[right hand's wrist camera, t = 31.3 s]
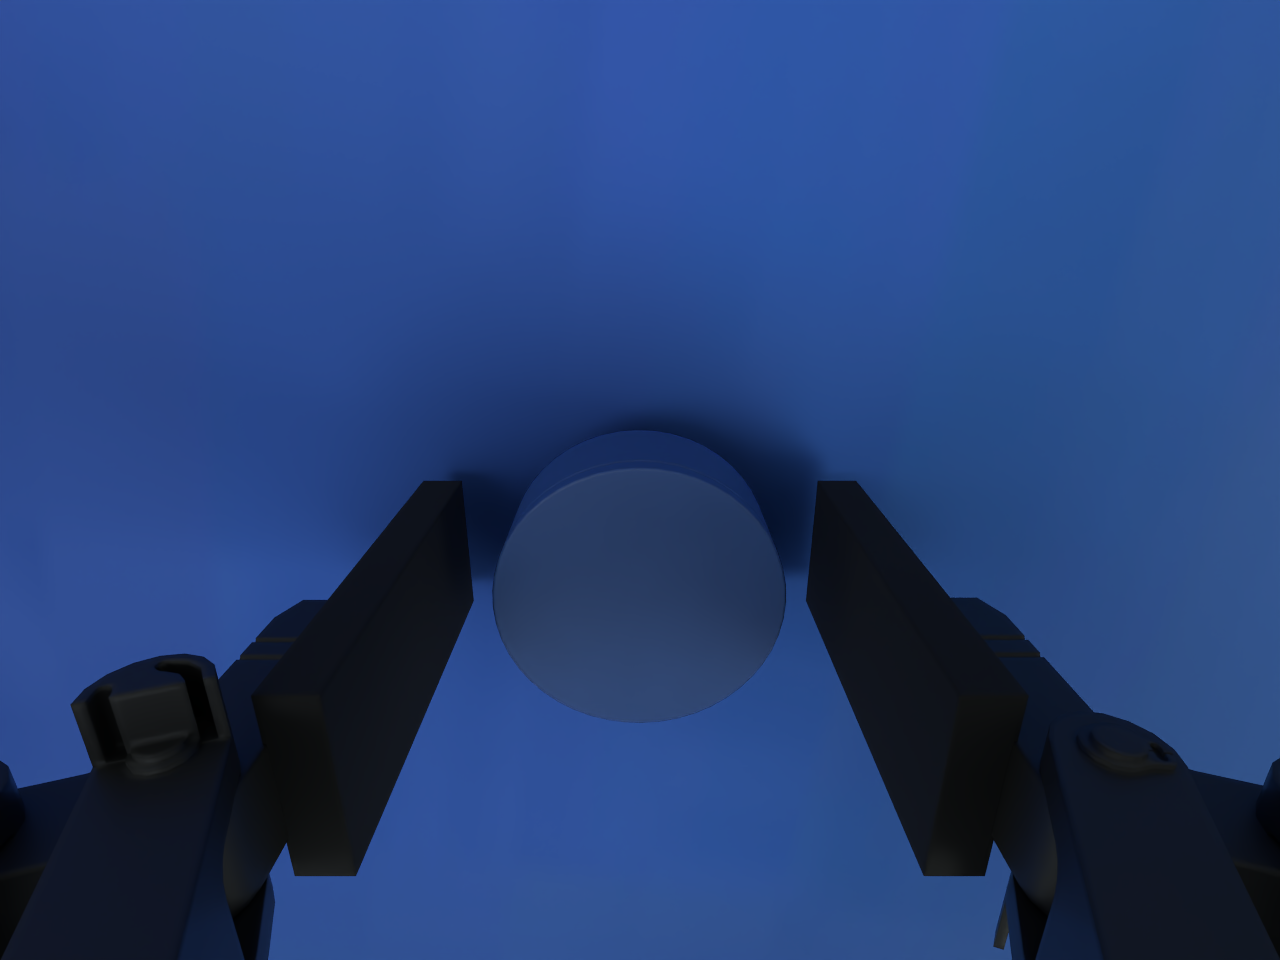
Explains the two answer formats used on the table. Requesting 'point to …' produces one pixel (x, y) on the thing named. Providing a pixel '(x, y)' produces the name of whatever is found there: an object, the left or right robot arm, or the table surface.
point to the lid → (639, 579)
